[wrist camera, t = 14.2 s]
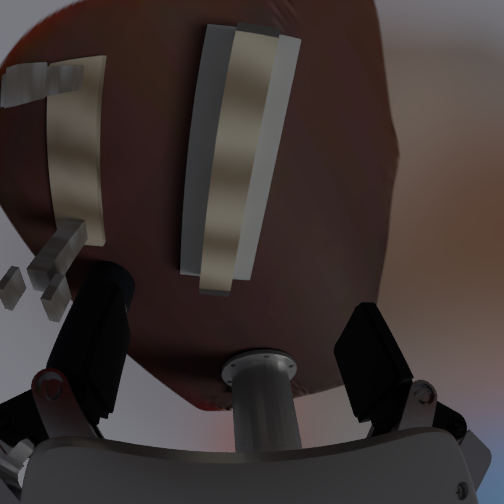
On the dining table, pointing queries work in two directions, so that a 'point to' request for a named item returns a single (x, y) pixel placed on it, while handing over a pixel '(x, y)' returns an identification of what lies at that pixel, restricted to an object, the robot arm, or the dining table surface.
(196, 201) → the mat
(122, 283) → the wine bottle
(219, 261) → the rail
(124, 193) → the dining table surface
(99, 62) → the rack
